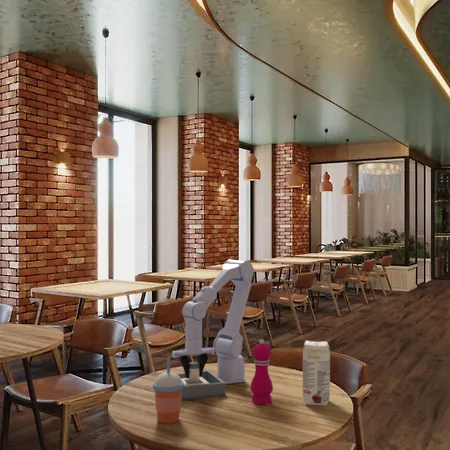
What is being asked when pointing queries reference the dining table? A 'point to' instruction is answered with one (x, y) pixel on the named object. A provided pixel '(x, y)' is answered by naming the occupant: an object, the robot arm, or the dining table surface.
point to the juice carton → (316, 373)
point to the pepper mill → (261, 375)
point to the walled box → (204, 387)
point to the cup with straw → (168, 396)
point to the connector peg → (193, 372)
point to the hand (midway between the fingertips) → (193, 376)
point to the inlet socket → (201, 382)
